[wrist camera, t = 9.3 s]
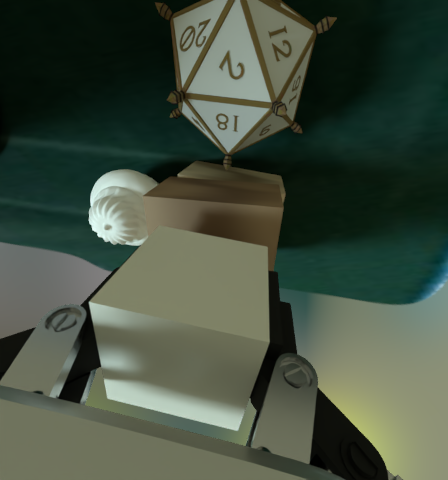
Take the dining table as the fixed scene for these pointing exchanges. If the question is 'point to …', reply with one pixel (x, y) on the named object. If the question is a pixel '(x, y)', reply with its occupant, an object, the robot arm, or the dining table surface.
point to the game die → (240, 68)
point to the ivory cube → (185, 326)
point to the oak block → (230, 174)
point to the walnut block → (218, 210)
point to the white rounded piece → (120, 206)
